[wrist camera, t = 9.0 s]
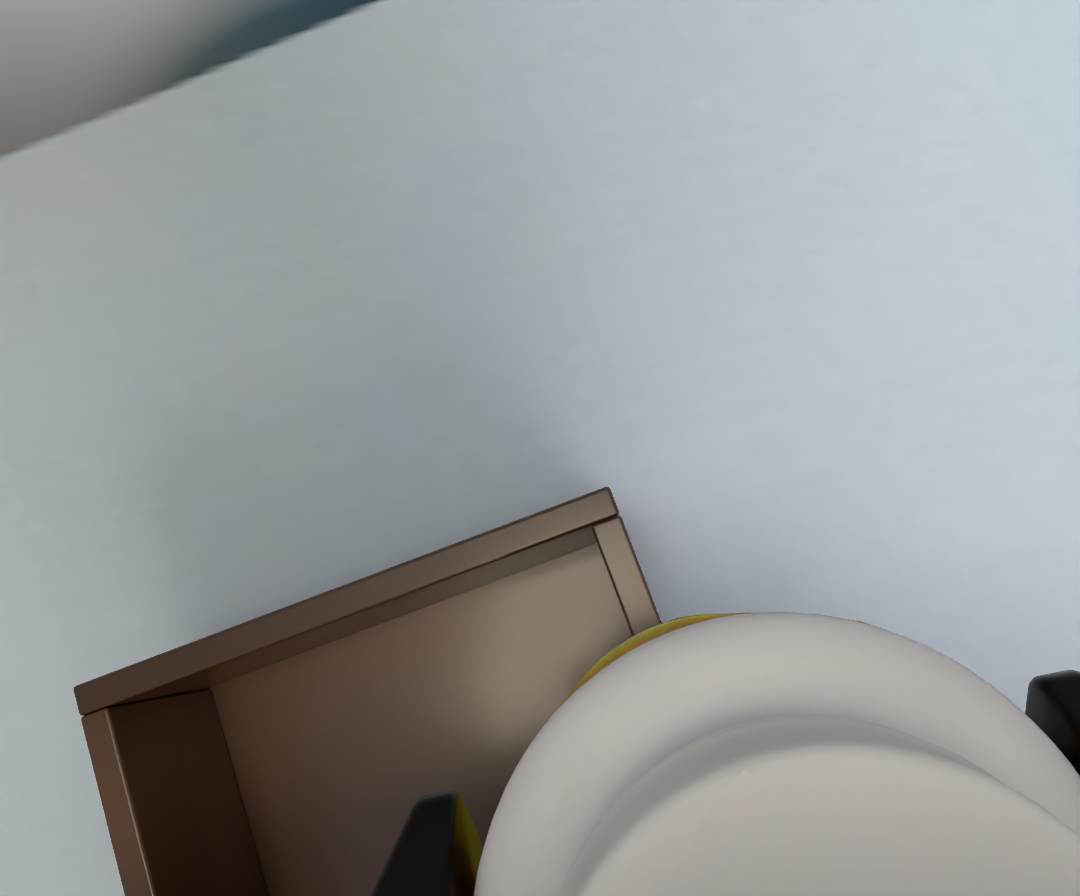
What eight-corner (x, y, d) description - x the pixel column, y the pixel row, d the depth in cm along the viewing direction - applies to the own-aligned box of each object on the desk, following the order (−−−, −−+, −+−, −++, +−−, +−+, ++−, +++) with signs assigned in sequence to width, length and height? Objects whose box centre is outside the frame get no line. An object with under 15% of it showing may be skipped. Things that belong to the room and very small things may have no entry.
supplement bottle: (520, 922, 15) (291, 1509, 5) (581, 586, 16) (489, 531, 6) (868, 1007, 14) (1388, 1888, 4) (913, 649, 15) (1432, 707, 5)
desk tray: (793, 980, 21) (846, 1105, 15) (328, 1144, 21) (228, 1320, 16) (614, 513, 23) (609, 485, 18) (197, 669, 23) (71, 686, 18)
